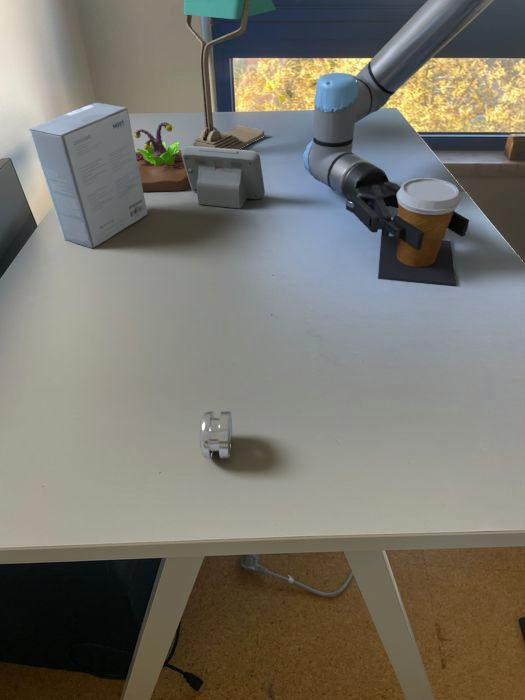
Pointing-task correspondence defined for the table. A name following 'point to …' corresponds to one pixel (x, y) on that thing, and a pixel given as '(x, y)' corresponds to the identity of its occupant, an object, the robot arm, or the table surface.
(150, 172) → the plant
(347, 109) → the robot arm
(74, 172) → the hard drive box
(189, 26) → the banker's lamp
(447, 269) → the mat
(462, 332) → the table surface
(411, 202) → the disposable coffee cup
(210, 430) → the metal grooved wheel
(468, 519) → the table surface
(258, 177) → the digital clock
